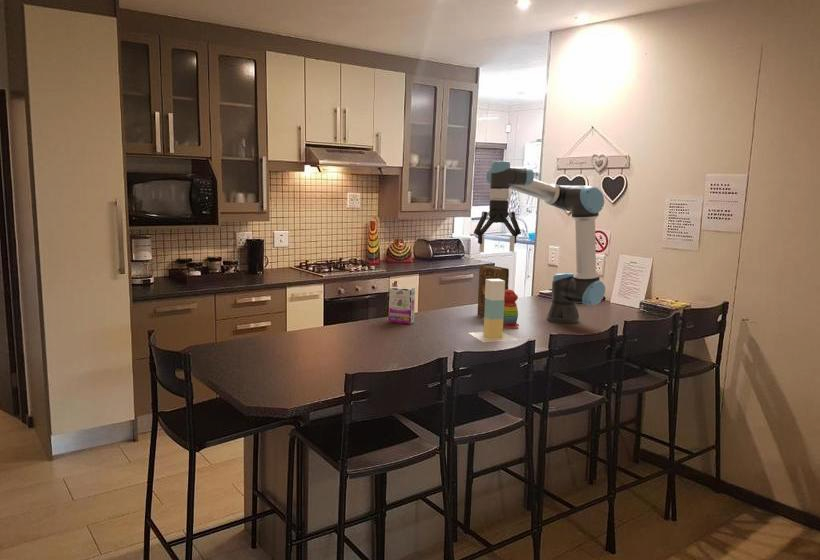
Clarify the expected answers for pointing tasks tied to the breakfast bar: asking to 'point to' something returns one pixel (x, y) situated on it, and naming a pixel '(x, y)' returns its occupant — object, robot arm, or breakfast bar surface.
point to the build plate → (485, 339)
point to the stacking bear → (510, 310)
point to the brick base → (493, 328)
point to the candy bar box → (401, 305)
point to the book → (489, 273)
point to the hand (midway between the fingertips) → (496, 251)
